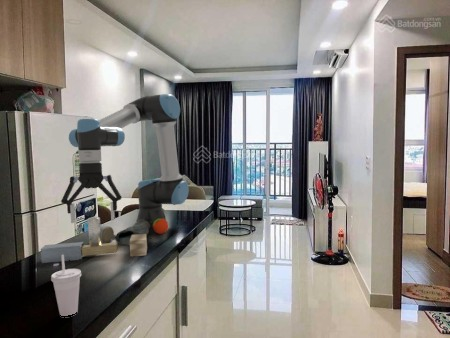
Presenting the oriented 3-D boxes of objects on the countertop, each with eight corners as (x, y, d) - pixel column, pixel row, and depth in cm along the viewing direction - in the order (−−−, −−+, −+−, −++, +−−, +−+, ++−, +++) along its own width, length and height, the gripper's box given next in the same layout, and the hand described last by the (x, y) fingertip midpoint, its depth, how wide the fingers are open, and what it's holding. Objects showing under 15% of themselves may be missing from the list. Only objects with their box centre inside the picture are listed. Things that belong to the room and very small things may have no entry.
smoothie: (60, 308, 82) (56, 251, 81) (87, 306, 82) (83, 250, 81) (48, 321, 75) (44, 260, 75) (78, 319, 76) (74, 258, 75)
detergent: (141, 246, 133) (160, 230, 158) (139, 229, 132) (158, 215, 157) (110, 249, 134) (134, 232, 159) (107, 231, 134) (132, 217, 159)
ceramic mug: (103, 245, 136) (102, 226, 136) (87, 244, 139) (87, 225, 139) (120, 239, 146) (119, 221, 146) (105, 237, 149) (104, 220, 149)
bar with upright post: (48, 259, 117) (45, 222, 117) (51, 255, 121) (49, 220, 121) (116, 253, 122) (114, 217, 121) (117, 249, 126) (116, 215, 125)
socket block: (130, 256, 120) (129, 241, 120) (132, 249, 129) (131, 234, 129) (146, 255, 121) (145, 239, 121) (147, 248, 130) (146, 233, 130)
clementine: (159, 236, 147) (158, 220, 147) (148, 235, 151) (147, 219, 150) (171, 232, 154) (171, 217, 153) (160, 231, 158) (159, 216, 157)
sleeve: (41, 263, 117) (40, 248, 116) (46, 258, 122) (45, 244, 121) (81, 259, 119) (80, 245, 119) (84, 255, 124) (83, 241, 124)
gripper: (49, 163, 114) (52, 225, 115) (125, 161, 119) (127, 220, 120) (56, 163, 122) (59, 221, 123) (127, 161, 126) (129, 216, 127)
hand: (93, 221), depth 121 cm, fingers open, 13 cm apart
